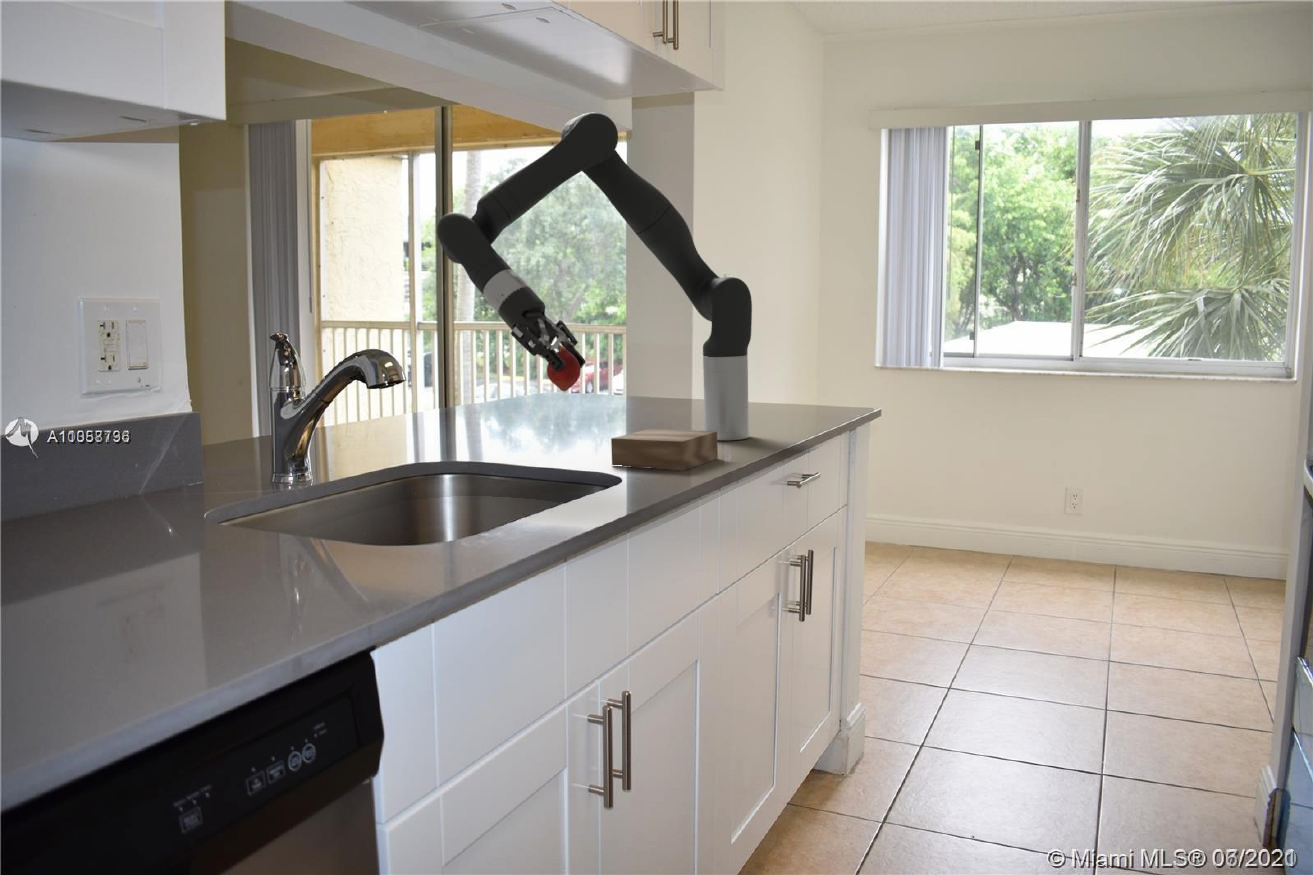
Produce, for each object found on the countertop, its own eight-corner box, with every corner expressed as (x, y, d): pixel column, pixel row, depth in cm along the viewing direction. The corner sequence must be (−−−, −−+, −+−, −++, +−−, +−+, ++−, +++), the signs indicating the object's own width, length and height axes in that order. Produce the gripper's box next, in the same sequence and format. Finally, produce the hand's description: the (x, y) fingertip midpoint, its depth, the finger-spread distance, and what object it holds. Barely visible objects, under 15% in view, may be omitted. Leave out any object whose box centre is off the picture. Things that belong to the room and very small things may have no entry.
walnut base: (650, 455, 188) (649, 428, 188) (717, 458, 182) (717, 431, 181) (612, 466, 176) (611, 438, 175) (682, 470, 169) (682, 441, 169)
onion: (569, 389, 181) (567, 344, 179) (587, 390, 176) (585, 345, 175) (541, 391, 177) (539, 346, 176) (560, 393, 172) (558, 347, 171)
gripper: (500, 285, 171) (561, 354, 167) (548, 285, 184) (606, 349, 180) (477, 316, 175) (536, 385, 170) (526, 314, 187) (582, 378, 183)
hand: (572, 367), depth 175 cm, fingers closed on onion, 5 cm apart
